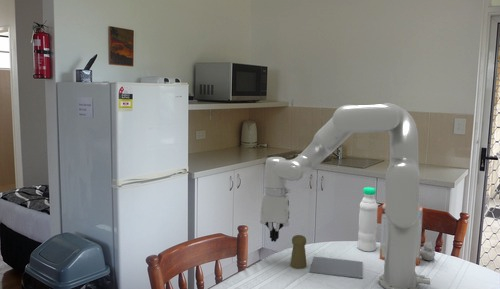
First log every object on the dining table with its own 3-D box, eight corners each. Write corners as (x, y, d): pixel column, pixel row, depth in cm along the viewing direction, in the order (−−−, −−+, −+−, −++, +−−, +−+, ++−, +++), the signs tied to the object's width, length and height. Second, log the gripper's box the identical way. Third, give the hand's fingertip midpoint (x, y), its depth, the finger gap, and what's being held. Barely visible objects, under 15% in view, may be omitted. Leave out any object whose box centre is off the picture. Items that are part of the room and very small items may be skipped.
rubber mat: (362, 262, 157) (362, 261, 157) (362, 278, 144) (362, 277, 144) (313, 257, 162) (313, 256, 162) (309, 272, 148) (309, 271, 148)
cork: (306, 269, 151) (307, 239, 149) (289, 267, 152) (289, 238, 150) (307, 262, 157) (308, 234, 155) (290, 261, 158) (291, 232, 156)
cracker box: (420, 260, 160) (423, 206, 158) (418, 266, 155) (422, 210, 152) (381, 253, 166) (384, 201, 164) (379, 258, 161) (382, 205, 158)
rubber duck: (424, 262, 158) (426, 242, 157) (415, 255, 164) (416, 236, 163) (438, 262, 159) (439, 241, 158) (428, 255, 165) (429, 235, 164)
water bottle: (357, 250, 169) (360, 189, 166) (357, 244, 175) (360, 185, 172) (375, 253, 167) (378, 190, 163) (375, 246, 173) (378, 186, 170)
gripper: (297, 190, 155) (296, 239, 157) (257, 187, 158) (256, 234, 161) (294, 195, 147) (292, 246, 150) (252, 192, 151) (251, 241, 154)
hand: (274, 240), depth 155 cm, fingers closed
